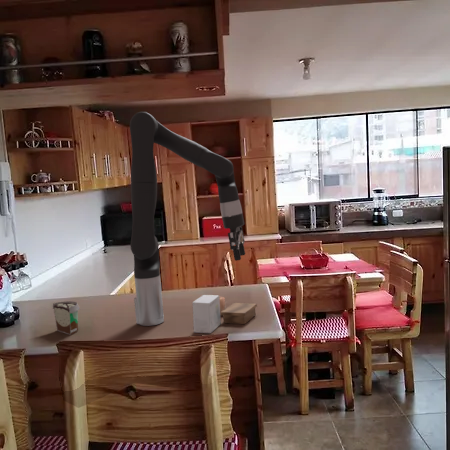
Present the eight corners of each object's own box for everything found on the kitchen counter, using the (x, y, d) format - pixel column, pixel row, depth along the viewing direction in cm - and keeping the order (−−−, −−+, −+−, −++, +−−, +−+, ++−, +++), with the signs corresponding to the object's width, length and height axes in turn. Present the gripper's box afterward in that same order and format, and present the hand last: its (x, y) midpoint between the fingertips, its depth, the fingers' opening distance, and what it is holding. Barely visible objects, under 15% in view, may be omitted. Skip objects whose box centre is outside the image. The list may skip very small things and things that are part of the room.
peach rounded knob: (210, 315, 181) (209, 300, 181) (215, 311, 186) (214, 296, 185) (222, 316, 179) (221, 300, 179) (227, 312, 184) (226, 297, 183)
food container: (88, 330, 174) (85, 303, 173) (73, 335, 169) (70, 307, 168) (70, 325, 182) (67, 299, 181) (55, 330, 177) (52, 303, 176)
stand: (221, 323, 171) (221, 312, 171) (234, 313, 182) (233, 302, 182) (245, 324, 168) (244, 313, 167) (257, 314, 179) (256, 303, 178)
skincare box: (211, 333, 161) (209, 302, 160) (193, 332, 163) (191, 302, 162) (222, 323, 171) (219, 294, 170) (204, 323, 173) (202, 294, 172)
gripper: (226, 213, 182) (234, 255, 184) (217, 218, 169) (226, 263, 170) (245, 209, 181) (253, 252, 182) (238, 214, 167) (246, 260, 168)
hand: (240, 257), depth 176 cm, fingers open, 8 cm apart
